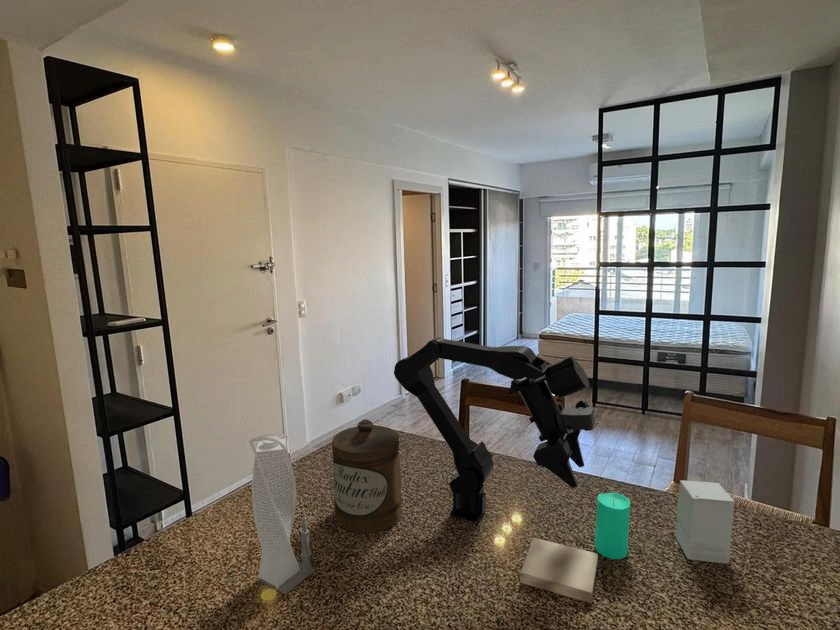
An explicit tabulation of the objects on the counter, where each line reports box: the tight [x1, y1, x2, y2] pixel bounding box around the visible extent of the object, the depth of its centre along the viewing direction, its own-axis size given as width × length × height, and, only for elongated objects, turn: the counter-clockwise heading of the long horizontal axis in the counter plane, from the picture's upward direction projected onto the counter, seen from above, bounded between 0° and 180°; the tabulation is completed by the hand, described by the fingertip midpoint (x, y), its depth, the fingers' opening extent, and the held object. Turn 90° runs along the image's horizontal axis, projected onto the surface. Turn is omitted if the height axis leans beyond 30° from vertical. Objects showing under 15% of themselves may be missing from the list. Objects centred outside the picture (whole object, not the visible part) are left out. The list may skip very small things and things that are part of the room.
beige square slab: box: [519, 537, 599, 604], centre depth 87 cm, size 12×11×2 cm
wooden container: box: [331, 419, 403, 534], centre depth 105 cm, size 15×15×22 cm
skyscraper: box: [248, 433, 315, 595], centre depth 85 cm, size 8×8×28 cm
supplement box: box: [675, 480, 736, 565], centre depth 92 cm, size 7×7×13 cm
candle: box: [594, 492, 631, 560], centre depth 93 cm, size 6×6×12 cm
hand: (578, 476), depth 95 cm, fingers open, 9 cm apart
